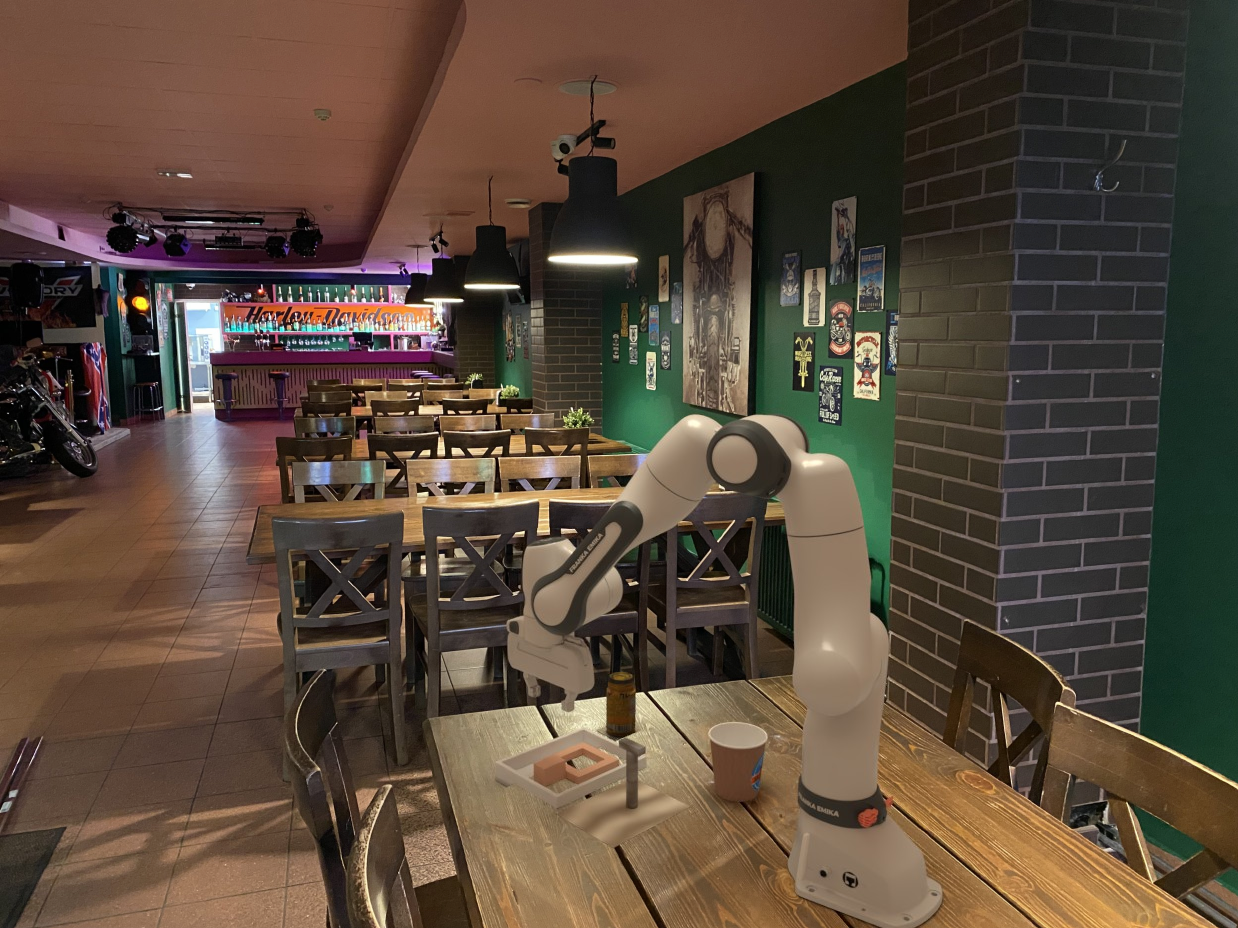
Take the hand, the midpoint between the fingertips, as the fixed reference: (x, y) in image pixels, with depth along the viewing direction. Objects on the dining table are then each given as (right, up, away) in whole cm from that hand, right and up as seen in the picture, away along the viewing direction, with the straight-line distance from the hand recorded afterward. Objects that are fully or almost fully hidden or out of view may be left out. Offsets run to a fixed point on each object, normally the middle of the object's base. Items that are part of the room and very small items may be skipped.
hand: (550, 702), depth 158 cm
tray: (+3, -15, +6) cm, 17 cm away
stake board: (+13, -17, -9) cm, 23 cm away
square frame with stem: (+3, -14, +5) cm, 16 cm away
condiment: (+13, -13, +24) cm, 31 cm away
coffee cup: (+33, -17, -2) cm, 37 cm away
